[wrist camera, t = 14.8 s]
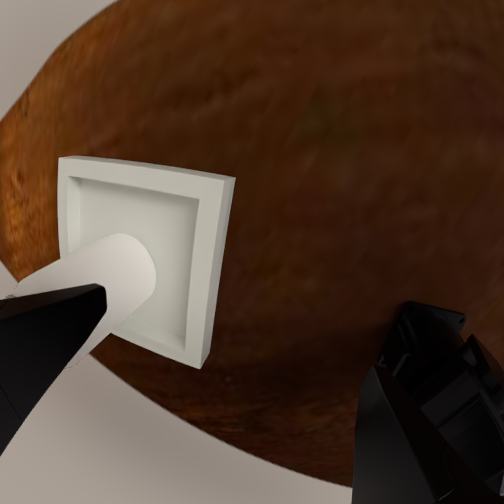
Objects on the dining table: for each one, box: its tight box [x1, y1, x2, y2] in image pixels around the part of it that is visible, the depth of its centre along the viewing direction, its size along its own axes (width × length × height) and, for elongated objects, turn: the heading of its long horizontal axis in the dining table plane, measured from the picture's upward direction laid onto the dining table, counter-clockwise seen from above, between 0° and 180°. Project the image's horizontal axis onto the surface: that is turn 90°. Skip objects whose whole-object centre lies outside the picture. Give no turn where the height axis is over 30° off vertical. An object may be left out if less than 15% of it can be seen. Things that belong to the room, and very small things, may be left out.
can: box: [5, 233, 157, 369], centre depth 18 cm, size 6×6×12 cm
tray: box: [58, 156, 236, 369], centre depth 23 cm, size 16×16×2 cm
